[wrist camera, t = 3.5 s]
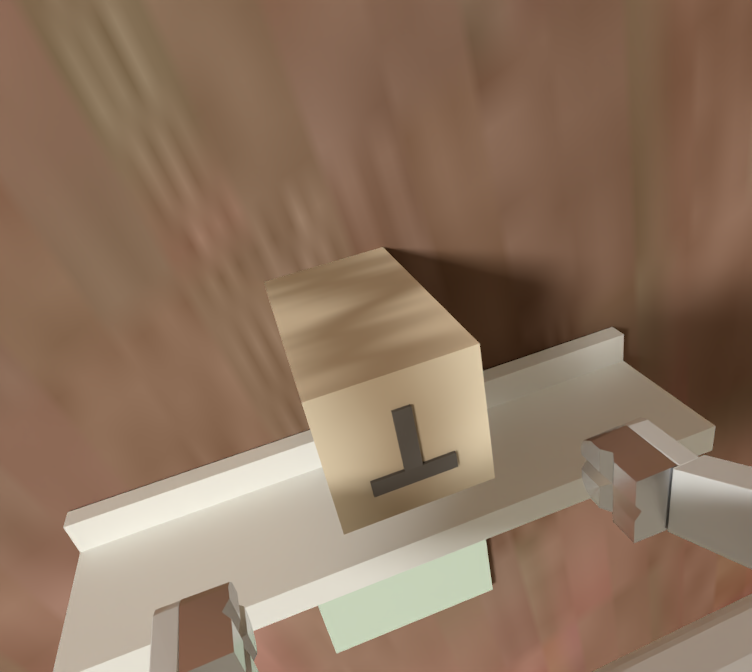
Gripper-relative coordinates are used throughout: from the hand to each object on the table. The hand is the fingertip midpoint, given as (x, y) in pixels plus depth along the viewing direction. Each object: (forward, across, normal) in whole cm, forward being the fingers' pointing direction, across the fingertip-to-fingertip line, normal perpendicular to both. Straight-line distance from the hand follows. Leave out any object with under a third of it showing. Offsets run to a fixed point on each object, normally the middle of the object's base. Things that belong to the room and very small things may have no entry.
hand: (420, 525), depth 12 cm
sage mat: (+11, -1, +14) cm, 17 cm away
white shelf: (+10, -1, +6) cm, 12 cm away
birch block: (+10, -1, 0) cm, 11 cm away
